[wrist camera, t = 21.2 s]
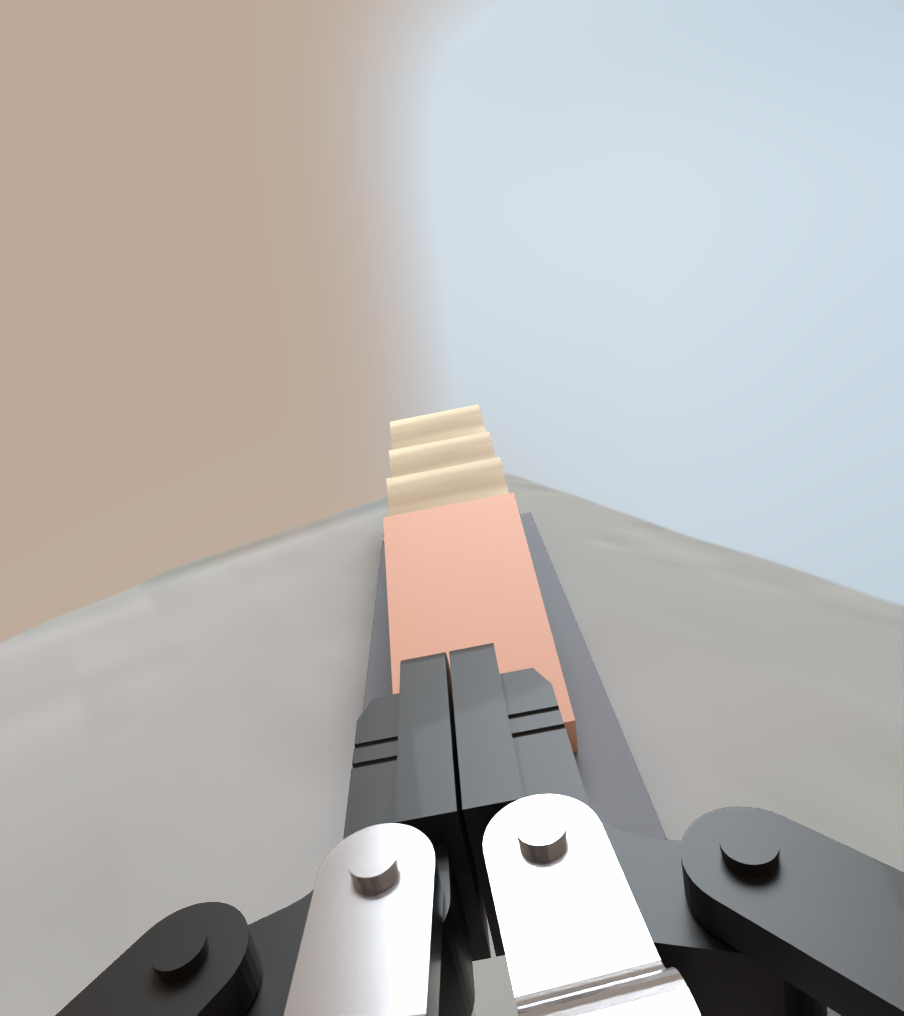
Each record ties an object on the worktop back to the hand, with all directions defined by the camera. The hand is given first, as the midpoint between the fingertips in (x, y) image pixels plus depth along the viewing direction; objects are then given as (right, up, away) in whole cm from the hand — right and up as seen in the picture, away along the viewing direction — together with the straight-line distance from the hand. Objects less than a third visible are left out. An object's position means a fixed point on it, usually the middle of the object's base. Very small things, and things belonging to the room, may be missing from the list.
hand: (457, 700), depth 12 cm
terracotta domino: (+1, -4, +9) cm, 10 cm away
